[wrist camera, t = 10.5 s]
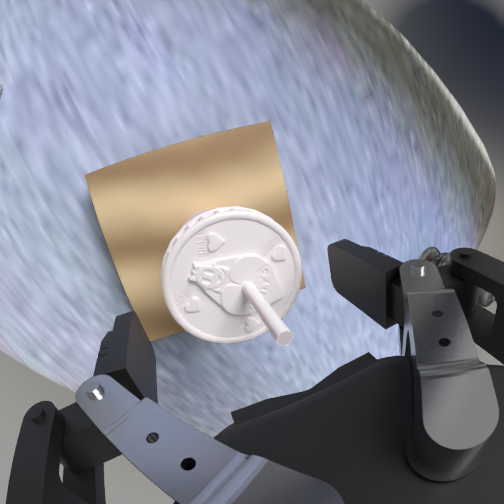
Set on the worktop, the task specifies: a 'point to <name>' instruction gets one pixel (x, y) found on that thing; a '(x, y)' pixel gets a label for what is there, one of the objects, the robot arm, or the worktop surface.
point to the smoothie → (231, 276)
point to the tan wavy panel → (182, 205)
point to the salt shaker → (444, 259)
